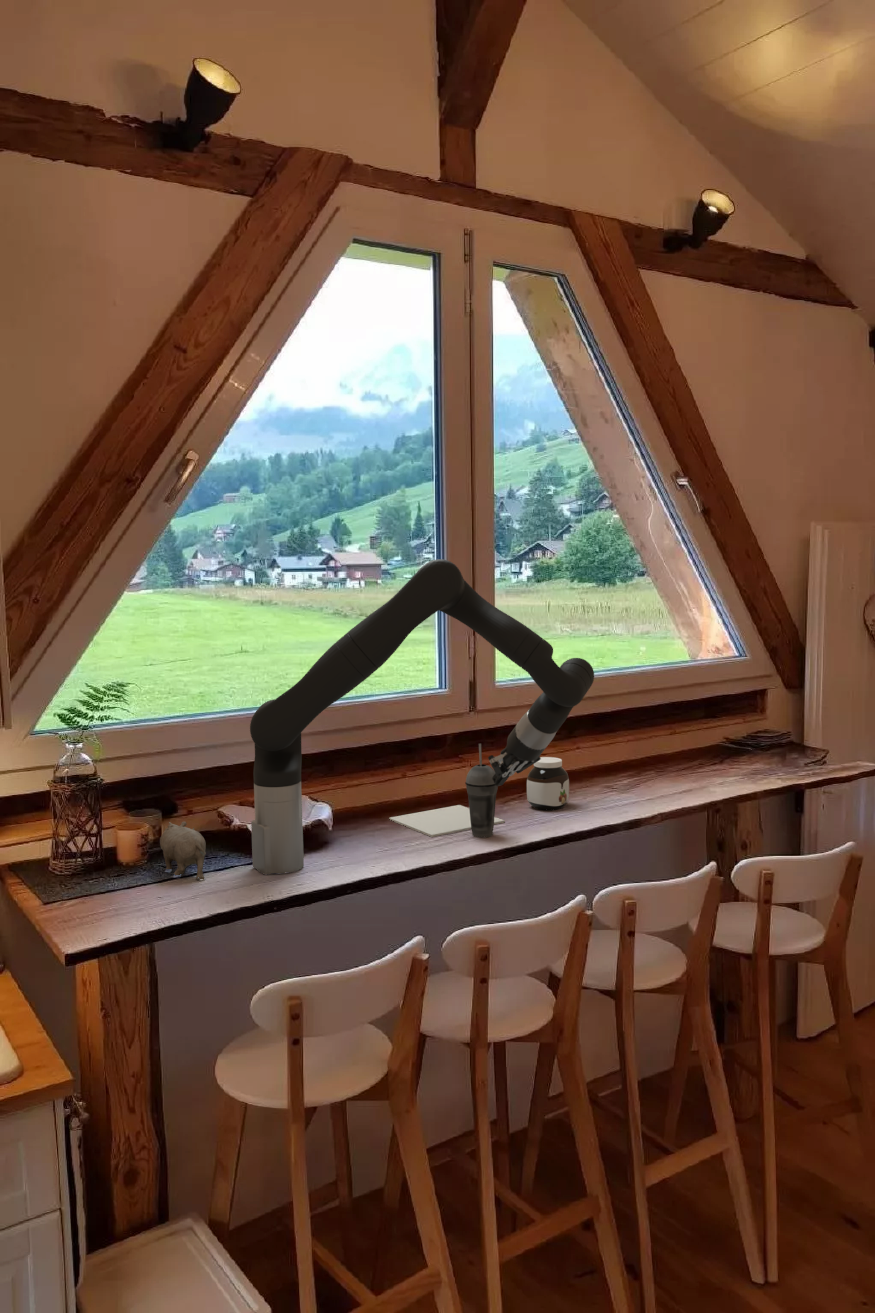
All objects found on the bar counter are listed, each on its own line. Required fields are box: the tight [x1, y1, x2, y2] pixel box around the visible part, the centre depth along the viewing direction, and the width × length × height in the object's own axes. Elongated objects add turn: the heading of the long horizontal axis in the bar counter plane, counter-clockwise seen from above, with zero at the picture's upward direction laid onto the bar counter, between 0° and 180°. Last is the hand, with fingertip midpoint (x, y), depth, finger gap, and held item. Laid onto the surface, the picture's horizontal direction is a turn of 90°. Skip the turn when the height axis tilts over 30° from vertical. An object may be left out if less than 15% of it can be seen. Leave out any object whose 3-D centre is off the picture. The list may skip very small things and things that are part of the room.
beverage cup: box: [464, 743, 499, 838], centre depth 219 cm, size 7×7×20 cm
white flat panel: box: [388, 804, 506, 838], centre depth 232 cm, size 20×18×1 cm
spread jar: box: [526, 756, 570, 812], centre depth 245 cm, size 12×11×12 cm
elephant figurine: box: [159, 821, 207, 881], centre depth 197 cm, size 8×14×15 cm
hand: (496, 782), depth 214 cm, fingers closed
